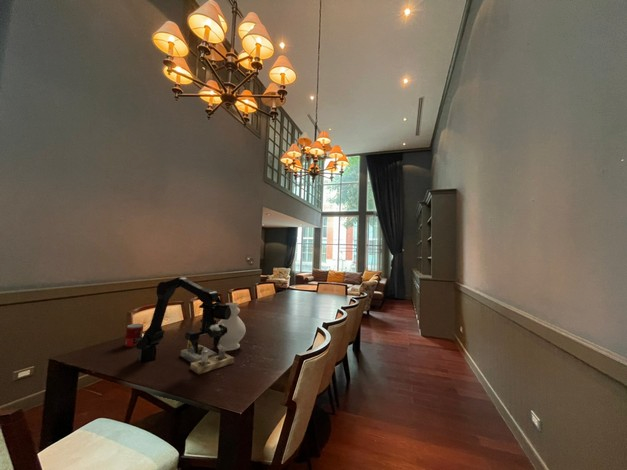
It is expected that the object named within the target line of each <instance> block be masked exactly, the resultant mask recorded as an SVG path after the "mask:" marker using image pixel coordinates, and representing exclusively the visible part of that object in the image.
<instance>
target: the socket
mask: <svg viewBox="0 0 627 470" xmlns="http://www.w3.org/2000/svg"><path fill="white" fill-rule="evenodd" d="M199 345H200V346H201V350H199V351H198V352H197V354H195V351H194V349H193V347H192V346H190V348H186V349H181V350H180V357H182V358H183V359H185V360H186V361H188V362H190V364H191V363H194V362H197V361H200V360H201V356H202V351H203V350H209V353H208V358H211V357H214V356H218V353H217V352H216V351H214V350H212V349H209V348H208V347H206V346H204V345H201V344H199Z"/></svg>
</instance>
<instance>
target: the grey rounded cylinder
mask: <svg viewBox="0 0 627 470" xmlns="http://www.w3.org/2000/svg"><path fill="white" fill-rule="evenodd" d="M208 353H209V350H203V351H202V356H201V366H204V365H207V364H208Z"/></svg>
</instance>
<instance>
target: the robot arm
mask: <svg viewBox="0 0 627 470" xmlns="http://www.w3.org/2000/svg"><path fill="white" fill-rule="evenodd" d="M178 288H182V289H185V291H188V292H189V293H191V294H193V295H194V296H196V297H197V298H198V300H199V301H200V302H202V303H201V304H200V305H199V306H198V308H200V309H202V315H201V318H200V320H199V321H200V323H201V324H200V325H201V327H199V332H198V331H196V330H190V331H187V332H186V333H185V334H184V339H185V340H187V341H188V340H189V341H190V342H191V343H192V346H193V349H194V351H195V354H197V352H198V345H199V342H200V339H199V338H200V337H203V336H207V335H208V337H209V338H212V339H213V344H212V345H213V346H212V347H213V350H217V348H218V345H219V340H220V338H221V337H222V336H223V335H225V333H227V330H228V329H227V327H225V326H224V325H223V324H220V325H217V324H218V323H217V320H221V319H224V320H228V319H229V318H230V316H231V309H230V307H229V305H226V304H223V302H222V300H221V298H220V297H219V296H220V295H219V292H217V291H216V290H213V289H211V288H205V287H202V286H201V285H199V284H197V283H195V282H193V281H191V280H190V279H188V278H187V277H185V276H180V277H176V278H174V279H169V280H167V281H160V282H159V283H158V284H157V286H156V296H157V301H156V304H155V308H154V311H153V315H152V319H151V322H150V325H149V326H148V328H147V329H146V330H145V331H144V332H143V334H142V340H141V341H139V342H138V343H137V344H136V349H137V350H139V351H138V357H137V361H139V362H140V363H142V364H143V363H146V362H150V361H154V360H157V346H158V345H159V344H160V342H161V341H162V339H163V338H164V334H165V331H166V330H164V329H163V327H162V325H163V322H164V318H165V315H166V312H167V308H168V305H169V304H168V303H169V301H170V299H171V297H173V295H174V294H175V292H176V290H177V289H178Z"/></svg>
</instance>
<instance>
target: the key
mask: <svg viewBox="0 0 627 470" xmlns="http://www.w3.org/2000/svg"><path fill="white" fill-rule="evenodd" d="M200 345H201V344H198V351H199V350H201V346H200ZM190 346H192V343H191V342H190V341H189V340H187V346H186V349H188V348H190ZM192 347H193V346H192Z"/></svg>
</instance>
